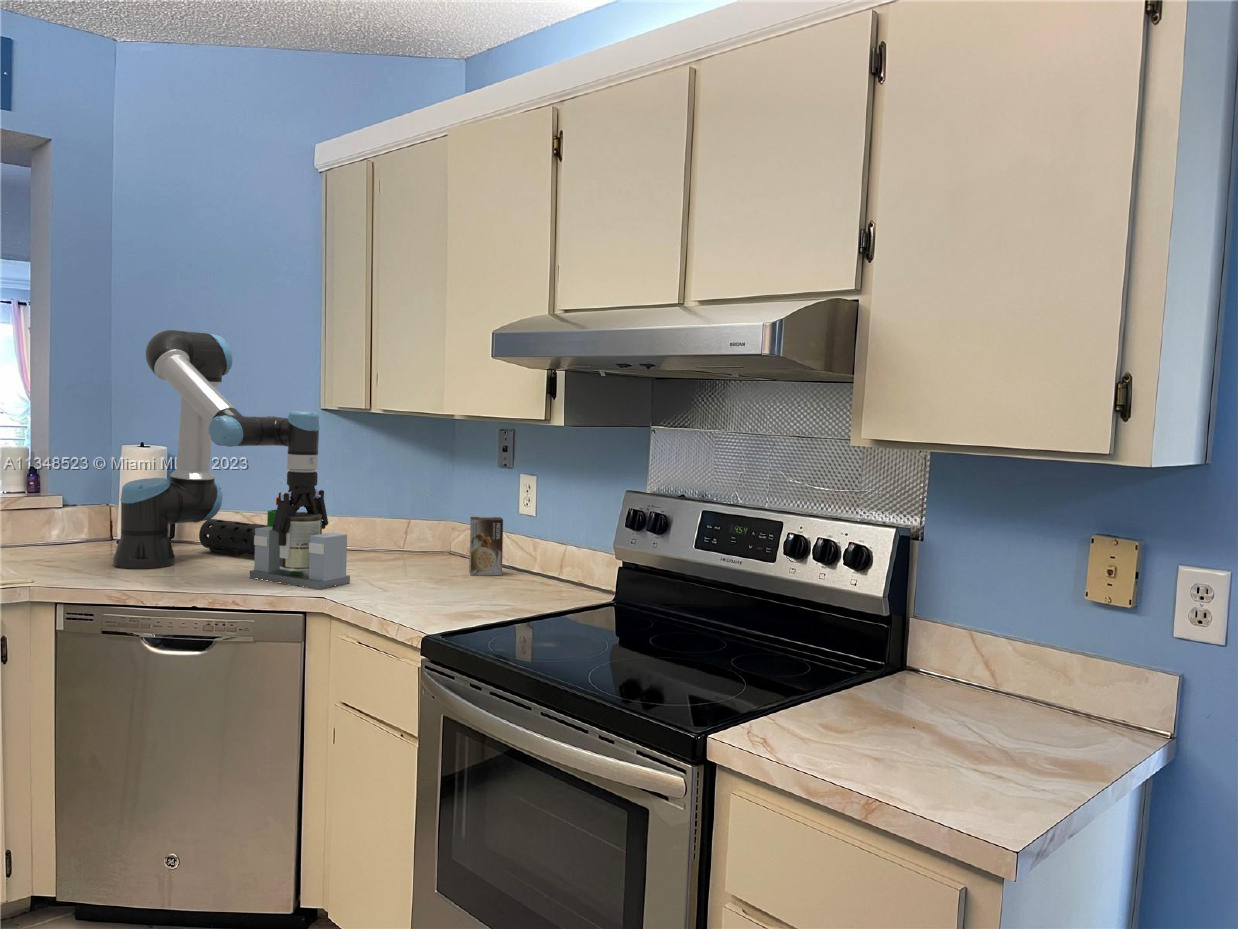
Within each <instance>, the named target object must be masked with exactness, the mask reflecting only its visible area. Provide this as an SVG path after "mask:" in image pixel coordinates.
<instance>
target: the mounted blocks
mask: <svg viewBox="0 0 1238 929" xmlns="http://www.w3.org/2000/svg"><path fill="white" fill-rule="evenodd" d="M254 545H255V555H254V563H253V564H254V569H253V570H258V571H264V572H272V571H278V570H281V569H280V568H279V567H280V545H279V533H278V532H276V531H273V530H272V527H263V528H255V536H254ZM347 552H348V534H346V533H345V534H344V533H339V532H327V533H322V534H319V535H312V536H310V543H309V553H310V557H309V579H314V580H320V581H327V580H332V579H337V578H342V577H346V575H347V562H348V561H347V557H348V555H347V554H348V553H347Z"/></svg>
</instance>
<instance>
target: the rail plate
mask: <svg viewBox="0 0 1238 929" xmlns="http://www.w3.org/2000/svg"><path fill="white" fill-rule="evenodd" d="M251 578H258V579H263V580H268V581H267V582H269V581H272V582H271V583H275V582H281V583H286V584H285V585H287V584H290V585H289V586H293V585H299V586H304V587H303V588H305V587H308V588H307V589H311V588H313V590H317V589H321V590H325V589H324V588H326V589H328V588H327V587H330V588H332V587H331V586H335V585H340V586H344V585H348V584H347V583H349V584H350V583H351V575H348V574H346V577H342V578H337V579H332V580H327V581H320V580H314V579H309V571H285V570H278V571H272V572H264V571H258V570H254V569H252V570H249V579H251ZM263 580H262V581H263ZM281 583H280V584H281ZM343 584H344V585H343ZM299 586H298V587H299ZM335 587H336V586H335Z"/></svg>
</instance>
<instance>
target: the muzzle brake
mask: <svg viewBox="0 0 1238 929" xmlns="http://www.w3.org/2000/svg"><path fill="white" fill-rule="evenodd" d="M263 527H267V524H260V523H248V522H241V521H236V520H235V521H234V520H223V519H217V518H212V519H210V520H206V521H203V524H202V525H201V526H200V529H199V534H198V537H199V541H200V545H202V547H204V548H205V549H209V552H211V551H214V552H213V553H219V552H221V553H220V554H226V553H227V554H229V555H238V556H244V555H248V556H249V555H250V556H255V545H254V536H255V528H263Z"/></svg>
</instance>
